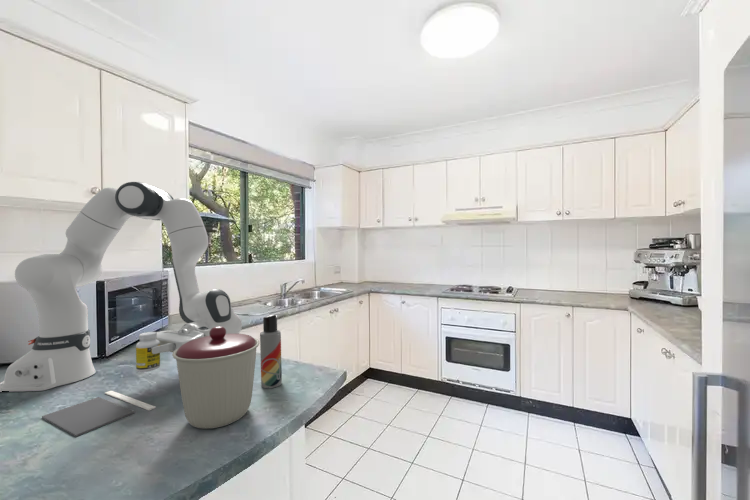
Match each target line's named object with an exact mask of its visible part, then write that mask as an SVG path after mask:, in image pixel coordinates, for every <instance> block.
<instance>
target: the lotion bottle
mask: <svg viewBox="0 0 750 500" xmlns="http://www.w3.org/2000/svg"><path fill="white" fill-rule="evenodd" d="M262 323H263V324H262V327H263V329H262V330H263V331H261V332H260V334H259V350H260V353H259V355H260V356H259V357H260V384H261V387H262V388H263V389H273V388H277V387H279V386H281V384H283V383H282V382H283V381H282V379H283V377H282V376H283V375H282V373H283V372H282V371H283V370H282V337H281V336H282V332H281V330H279V329H278V316H277V315H276V314H271V315H267V316H264V317H263V318H262Z"/></svg>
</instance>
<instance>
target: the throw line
mask: <svg viewBox="0 0 750 500" xmlns="http://www.w3.org/2000/svg"><path fill="white" fill-rule="evenodd" d="M104 394H105V395H108V396H109V397H112V398H115V399H117V400H121V401H122V402H123V401H124V402H126V403H128V404H130V405H134V406H135V407H139V408H141V409H144V410H147V411H148V412H149V411H151V410H155V409H156V406H155V405H151V404H149V403H147V402H143V401H141V400H139V399H135V398H133V397H130V396H129V395H128V396H127V395H124V394H122V393H120V392H117V391H114V390H109V391H106V392H104Z"/></svg>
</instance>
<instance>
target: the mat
mask: <svg viewBox="0 0 750 500" xmlns="http://www.w3.org/2000/svg"><path fill="white" fill-rule="evenodd" d="M135 413H136V412H135V410H133V409H130V408H128V407H125V406H122V405H120V404H117V403H114V402H112V401H109V400H108V399H105V398H102V397H99V396H98V397H95V398H92V399H89V400H85V401H83V402H80V403H77V404H74V405H72V406H67V407H65V408H62V409H59V410H56V411H53V412H49V413H46V414H44V415H42V416H41V419H43V420H45V421H47V422H49V423H51V424H52V425H53V426H56V428H57V427H58V428H59V429H61V430H63V431H65V432H66V433H68V434H70V435H72V436H74V437H75V438H76V437H80V436H82V435H84V434H87V433H89V432H91V431H95V430H96V429H98V428H101V427H102V428H103V426H106V425H107V426H108V425H110V424H111V423H114V422H116V421H119V420H121V419H124V418H126V417H128V416H131V415H135Z"/></svg>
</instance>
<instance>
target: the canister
mask: <svg viewBox="0 0 750 500" xmlns="http://www.w3.org/2000/svg"><path fill="white" fill-rule="evenodd" d="M209 335H210V336H206V337H201V338H198V339H194V340H191V341H189V342H187V343H185V344H183V345H182V346H181V347H179V348H178V349H176V350H175V351H174V352H172V355H171V356H172V358H173V359H175V361H176V367H177V373H178V374H177V375H178V382H179V388H180V394H181V395H180V396H181V400H182V406H183V410H184V411H183V412H184V416H185V418H186V420H187V422H188V424H190V425H191V426H192V427H194V428H197V429H202V430H204V429H207V430H208V429H216V428H221V427H224V426H227V425H230V424H232V423H235V422H236V421H238V420H240V419H241V418H242V417H244V416H245V415H246V414H247V412H248V411H249V408H250V406H251V403H252V398H253V397H252V396H253V389H254V381H255V371H256V370H255V369H256V358H257V348H258V347H260V339H257V338H255V337H253V336H251V335H248V334H245V333H239V334H226V329H225V328H224V327H222V326H217V327H213V328H212V329H211V330H210V332H209Z"/></svg>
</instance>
